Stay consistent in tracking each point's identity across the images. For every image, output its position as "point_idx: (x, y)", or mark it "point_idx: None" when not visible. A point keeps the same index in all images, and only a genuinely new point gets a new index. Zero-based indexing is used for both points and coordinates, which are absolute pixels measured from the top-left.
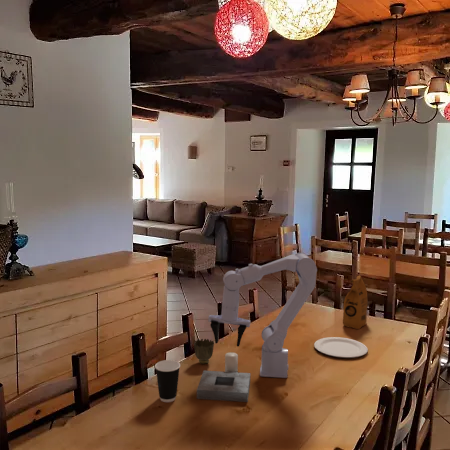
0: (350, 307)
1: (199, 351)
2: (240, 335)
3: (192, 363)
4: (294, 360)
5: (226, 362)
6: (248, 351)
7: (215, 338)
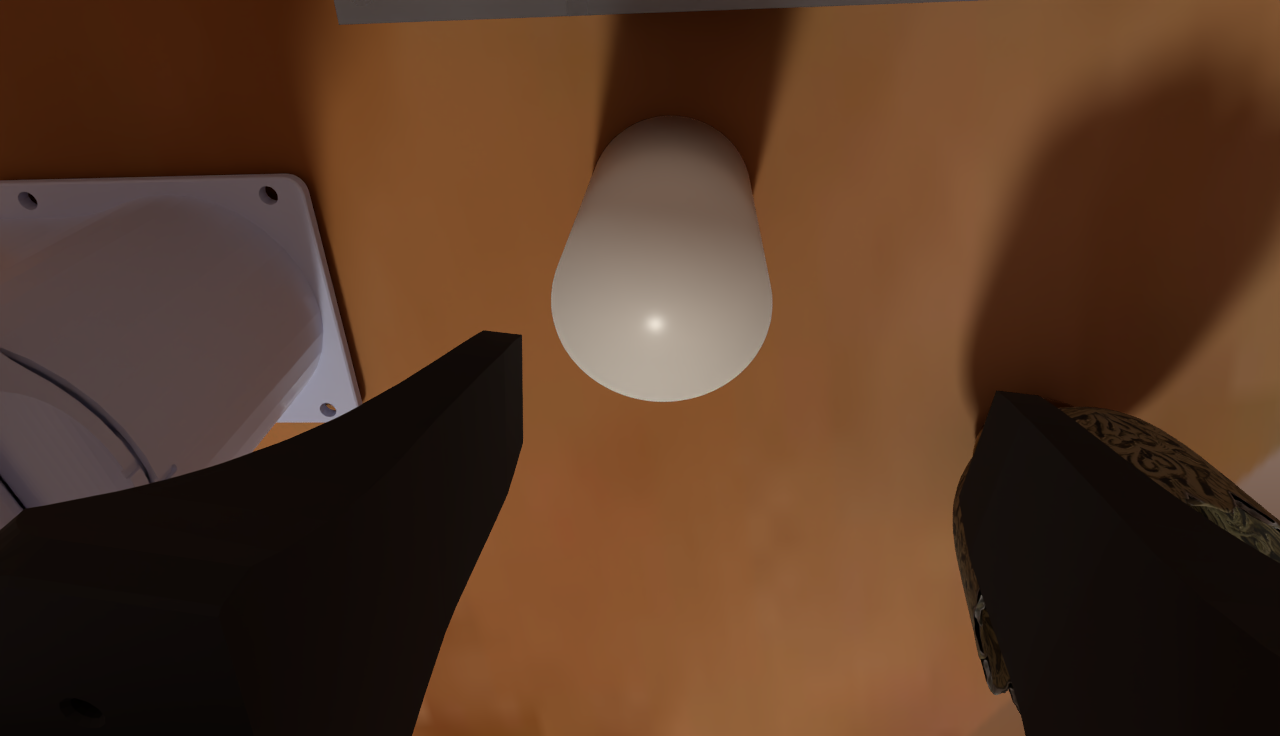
0: None
1: (1190, 460)
2: (303, 453)
3: (1171, 406)
4: None
5: (736, 196)
6: (566, 697)
7: (1093, 446)
